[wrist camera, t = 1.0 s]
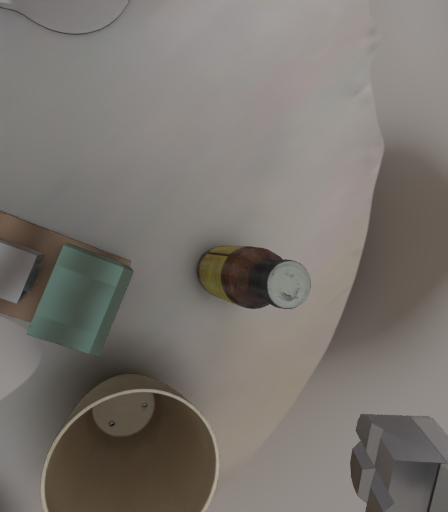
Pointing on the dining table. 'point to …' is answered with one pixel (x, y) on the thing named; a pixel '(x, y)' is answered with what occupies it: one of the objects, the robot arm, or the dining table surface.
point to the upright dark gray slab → (33, 277)
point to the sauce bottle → (253, 277)
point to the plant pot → (131, 452)
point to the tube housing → (60, 285)
